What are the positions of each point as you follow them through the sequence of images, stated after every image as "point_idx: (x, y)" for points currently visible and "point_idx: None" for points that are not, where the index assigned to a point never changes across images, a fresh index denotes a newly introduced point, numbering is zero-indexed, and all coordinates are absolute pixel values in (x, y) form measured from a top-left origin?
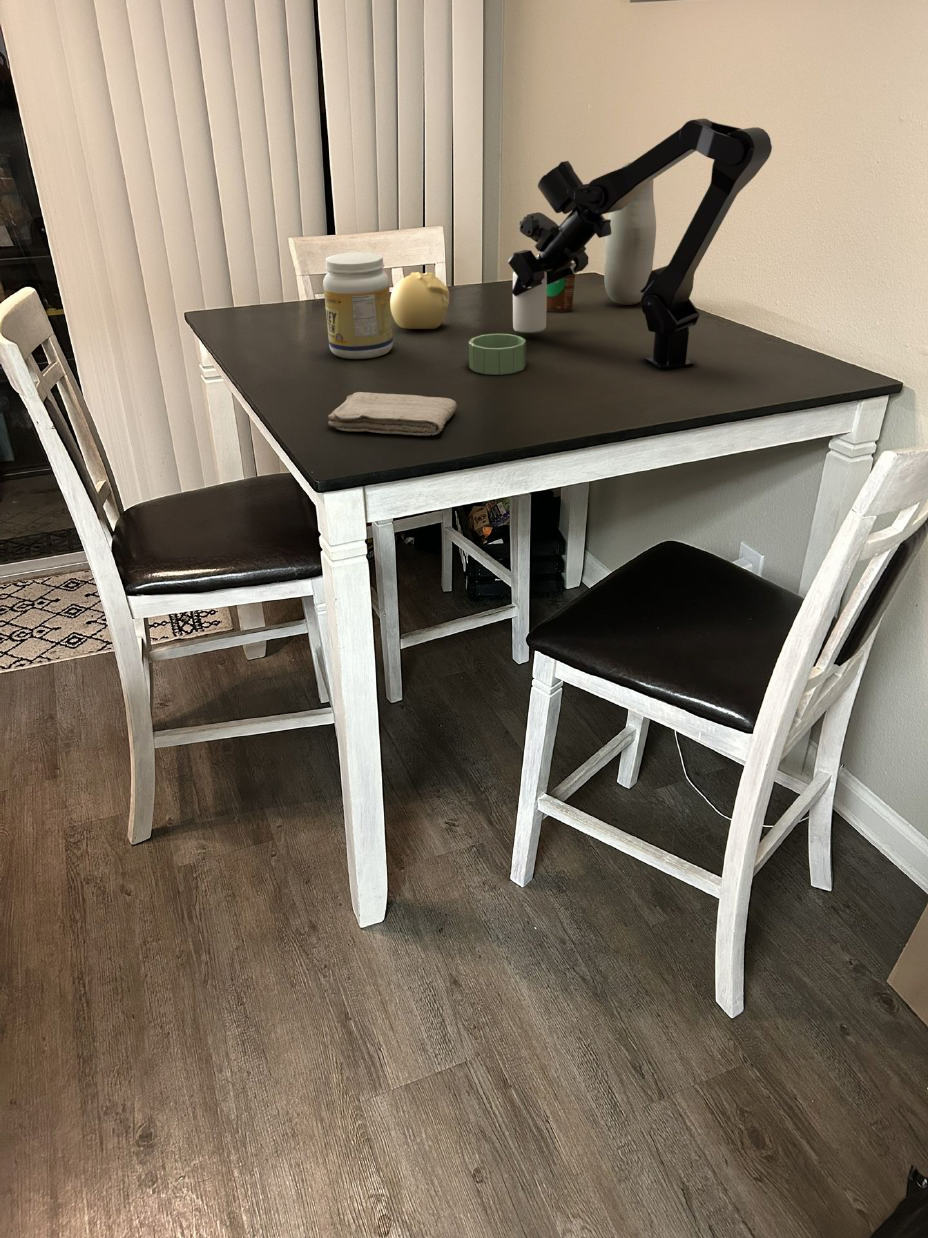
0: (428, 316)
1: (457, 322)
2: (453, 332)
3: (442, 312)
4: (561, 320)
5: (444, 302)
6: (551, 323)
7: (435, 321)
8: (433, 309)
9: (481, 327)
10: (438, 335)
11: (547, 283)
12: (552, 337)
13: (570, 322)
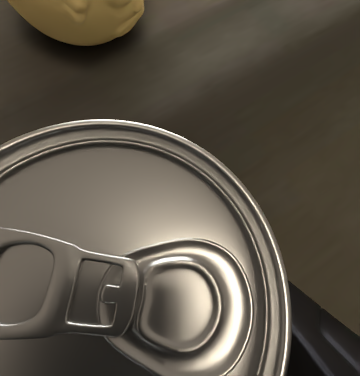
0: (26, 15)
1: (166, 56)
2: (83, 90)
3: (67, 26)
4: (348, 262)
5: (61, 1)
6: (304, 255)
7: (57, 36)
8: (29, 4)
9: (158, 120)
10: (41, 76)
11: None
12: None
13: (351, 301)
